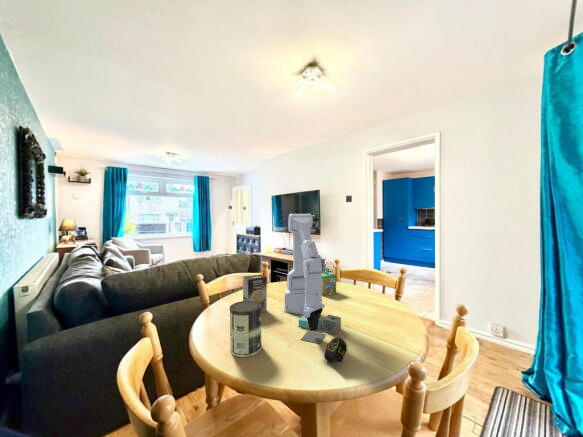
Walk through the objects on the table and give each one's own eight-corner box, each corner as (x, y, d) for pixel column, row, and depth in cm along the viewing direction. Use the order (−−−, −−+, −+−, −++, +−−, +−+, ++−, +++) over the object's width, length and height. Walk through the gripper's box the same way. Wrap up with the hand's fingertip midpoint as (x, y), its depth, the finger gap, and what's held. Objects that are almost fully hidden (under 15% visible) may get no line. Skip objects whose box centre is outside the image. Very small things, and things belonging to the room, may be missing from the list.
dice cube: (335, 335, 88) (335, 322, 88) (323, 332, 91) (322, 318, 91) (340, 330, 93) (340, 317, 93) (328, 327, 95) (328, 314, 95)
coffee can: (259, 338, 87) (258, 299, 87) (264, 354, 77) (264, 309, 77) (229, 343, 84) (228, 302, 84) (230, 360, 74) (230, 313, 74)
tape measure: (330, 364, 73) (320, 356, 73) (339, 343, 77) (330, 335, 77) (343, 366, 68) (333, 357, 68) (352, 343, 72) (343, 335, 72)
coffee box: (248, 316, 105) (248, 279, 105) (242, 312, 111) (242, 276, 111) (267, 312, 111) (267, 276, 110) (260, 307, 116) (260, 273, 116)
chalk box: (313, 293, 136) (313, 267, 136) (326, 291, 141) (326, 265, 140) (323, 298, 128) (323, 270, 128) (337, 295, 133) (336, 268, 132)
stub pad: (300, 340, 85) (300, 339, 85) (307, 331, 92) (307, 330, 92) (320, 344, 82) (320, 343, 82) (325, 335, 89) (325, 334, 89)
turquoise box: (298, 327, 95) (298, 319, 95) (302, 322, 99) (302, 315, 99) (318, 331, 92) (318, 323, 92) (321, 326, 96) (321, 318, 96)
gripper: (317, 299, 79) (317, 341, 79) (329, 287, 92) (330, 323, 92) (297, 296, 81) (297, 337, 82) (312, 285, 95) (312, 320, 95)
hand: (313, 329), depth 87 cm, fingers closed
